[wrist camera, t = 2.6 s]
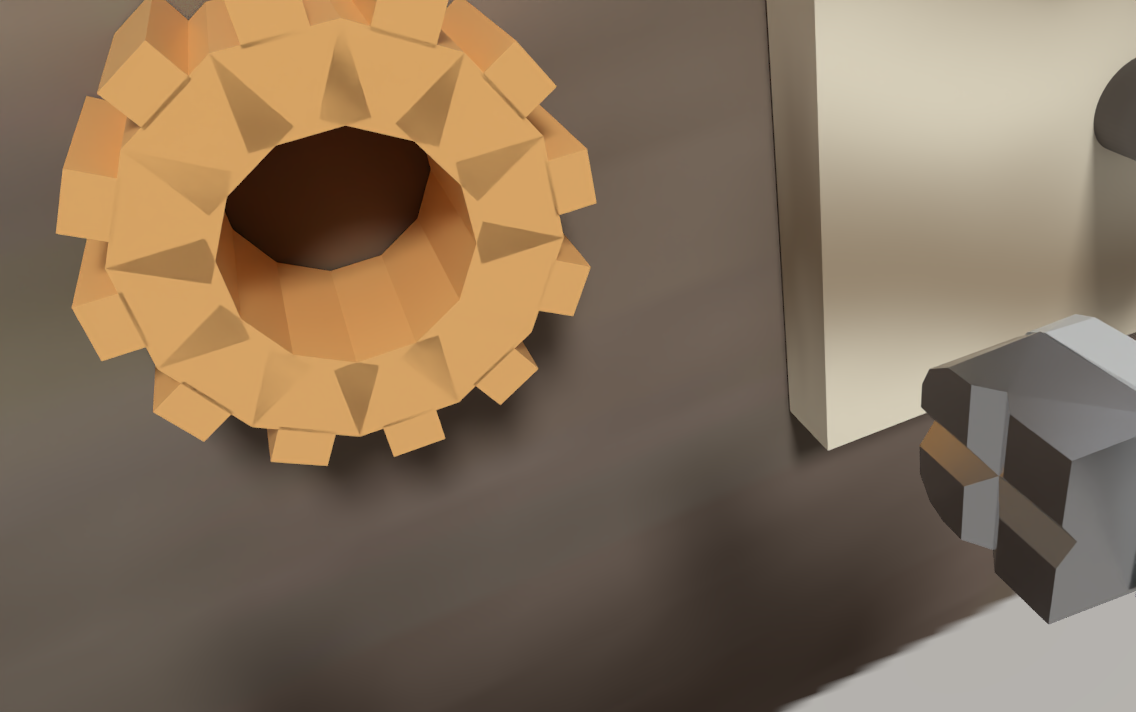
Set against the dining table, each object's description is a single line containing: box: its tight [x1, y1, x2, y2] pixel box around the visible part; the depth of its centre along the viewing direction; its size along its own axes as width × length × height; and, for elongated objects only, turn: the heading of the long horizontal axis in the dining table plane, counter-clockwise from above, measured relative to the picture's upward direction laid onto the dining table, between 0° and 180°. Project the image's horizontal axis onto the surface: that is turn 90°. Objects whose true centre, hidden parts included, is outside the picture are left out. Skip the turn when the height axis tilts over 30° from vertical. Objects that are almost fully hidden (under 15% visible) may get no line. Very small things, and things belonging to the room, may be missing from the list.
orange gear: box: [56, 0, 596, 466], centre depth 13 cm, size 7×7×3 cm
